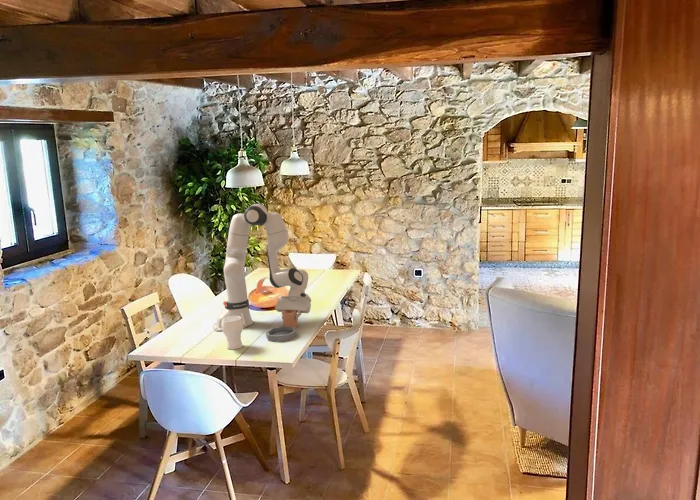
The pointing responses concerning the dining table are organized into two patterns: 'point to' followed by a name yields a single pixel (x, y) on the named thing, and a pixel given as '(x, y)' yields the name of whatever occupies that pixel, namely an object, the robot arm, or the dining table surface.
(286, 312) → the pot
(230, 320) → the cup
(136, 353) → the dining table surface
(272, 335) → the dish
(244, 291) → the robot arm
